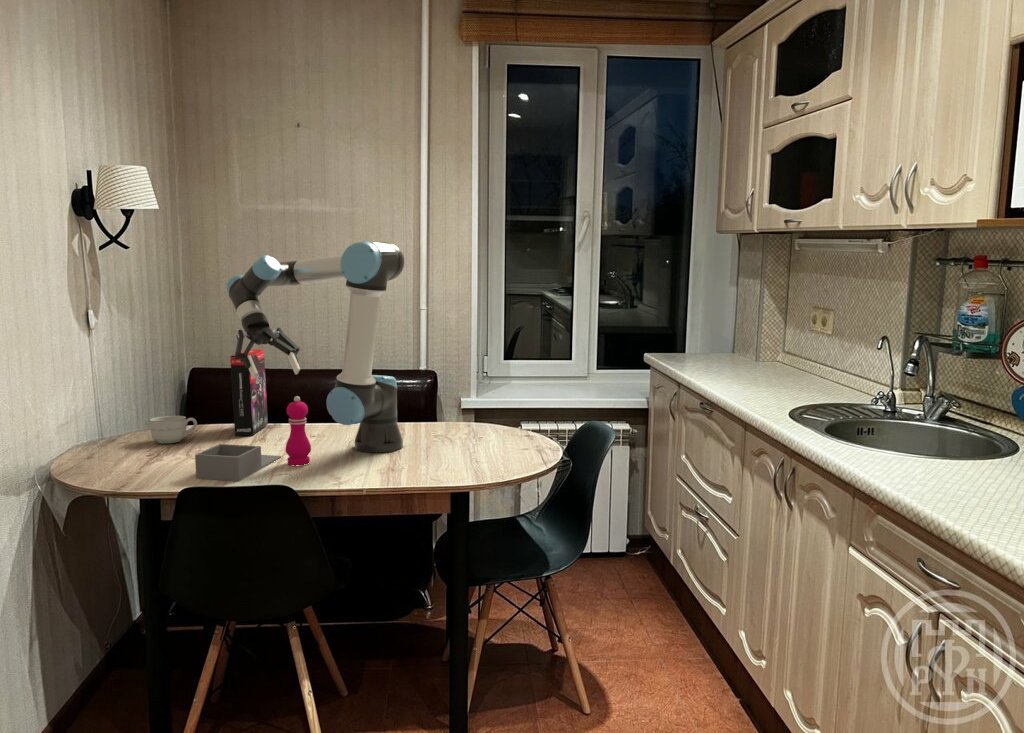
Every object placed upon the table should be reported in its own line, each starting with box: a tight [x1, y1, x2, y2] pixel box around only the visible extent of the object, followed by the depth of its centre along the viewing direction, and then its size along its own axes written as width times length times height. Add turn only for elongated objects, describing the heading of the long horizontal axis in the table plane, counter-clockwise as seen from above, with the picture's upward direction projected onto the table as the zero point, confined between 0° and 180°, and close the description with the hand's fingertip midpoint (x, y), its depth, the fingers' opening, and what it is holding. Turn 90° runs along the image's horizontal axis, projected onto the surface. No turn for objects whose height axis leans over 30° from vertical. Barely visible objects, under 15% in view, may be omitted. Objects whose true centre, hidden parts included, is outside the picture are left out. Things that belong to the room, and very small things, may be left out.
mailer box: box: [194, 443, 282, 482], centre depth 230 cm, size 13×25×7 cm, turn 170°
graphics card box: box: [230, 348, 269, 437], centre depth 275 cm, size 17×7×27 cm, turn 0°
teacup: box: [149, 415, 198, 444], centre depth 260 cm, size 14×11×8 cm
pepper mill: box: [285, 395, 312, 467], centre depth 235 cm, size 7×7×20 cm
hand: (277, 373), depth 240 cm, fingers open, 13 cm apart
